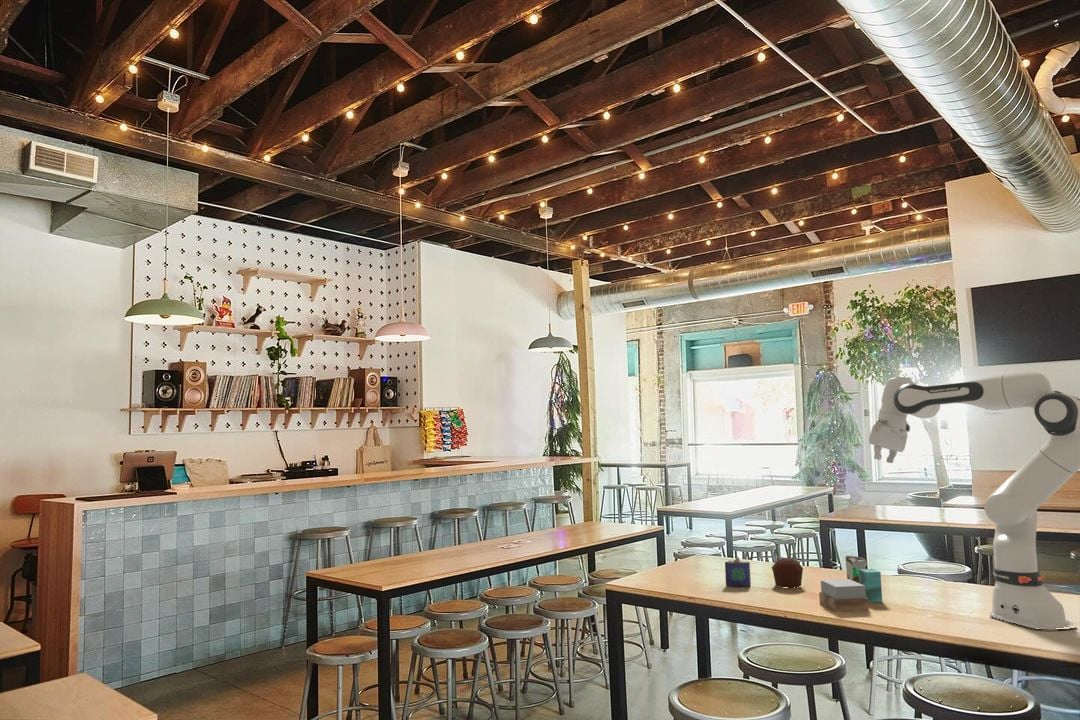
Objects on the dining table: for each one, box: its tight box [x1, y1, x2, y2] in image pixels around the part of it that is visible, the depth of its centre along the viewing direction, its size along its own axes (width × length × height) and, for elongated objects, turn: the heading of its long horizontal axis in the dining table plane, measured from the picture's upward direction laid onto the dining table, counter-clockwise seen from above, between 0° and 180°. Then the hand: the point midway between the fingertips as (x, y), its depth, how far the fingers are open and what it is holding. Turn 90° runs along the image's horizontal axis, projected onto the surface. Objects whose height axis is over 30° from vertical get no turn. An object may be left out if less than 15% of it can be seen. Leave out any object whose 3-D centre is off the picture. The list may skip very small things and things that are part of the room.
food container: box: [845, 555, 868, 583], centre depth 263 cm, size 12×6×10 cm, turn 168°
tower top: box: [820, 578, 866, 600], centre depth 236 cm, size 10×10×4 cm
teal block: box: [859, 568, 883, 603], centre depth 243 cm, size 5×5×10 cm
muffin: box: [771, 557, 804, 589], centre depth 266 cm, size 12×11×10 cm
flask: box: [724, 556, 752, 588], centre depth 267 cm, size 9×3×11 cm, turn 88°
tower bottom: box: [818, 591, 870, 613], centre depth 235 cm, size 11×11×4 cm
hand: (883, 461), depth 249 cm, fingers open, 8 cm apart
